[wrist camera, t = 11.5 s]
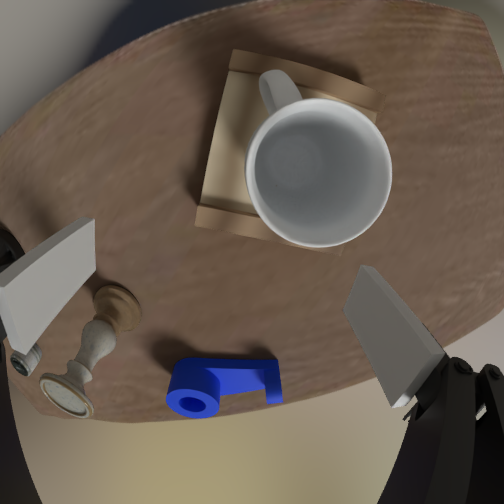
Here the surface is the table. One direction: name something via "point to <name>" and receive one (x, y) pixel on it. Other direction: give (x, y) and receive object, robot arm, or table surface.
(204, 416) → the bracket
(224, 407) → the table surface
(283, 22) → the table surface
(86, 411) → the candle holder
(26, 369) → the camera lens
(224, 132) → the wooden tray
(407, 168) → the table surface
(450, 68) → the table surface
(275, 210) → the mug
